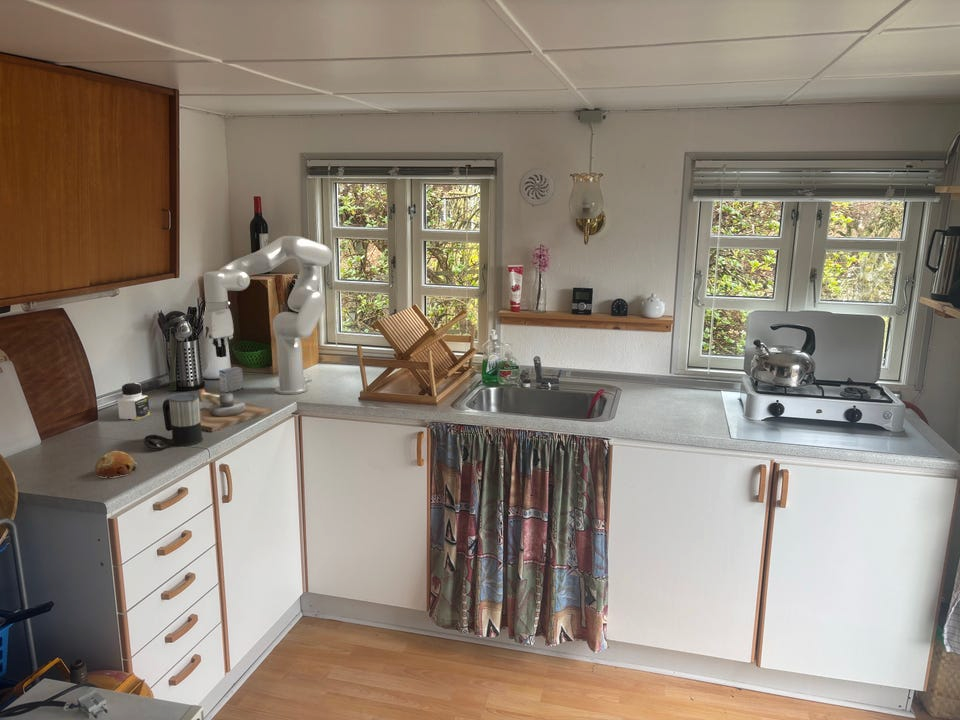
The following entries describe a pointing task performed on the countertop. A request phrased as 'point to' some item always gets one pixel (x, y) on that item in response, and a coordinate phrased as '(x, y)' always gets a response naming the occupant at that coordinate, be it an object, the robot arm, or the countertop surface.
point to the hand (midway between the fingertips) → (221, 356)
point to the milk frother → (179, 421)
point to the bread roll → (115, 464)
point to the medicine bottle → (133, 402)
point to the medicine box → (231, 379)
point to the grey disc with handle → (221, 403)
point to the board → (230, 417)
